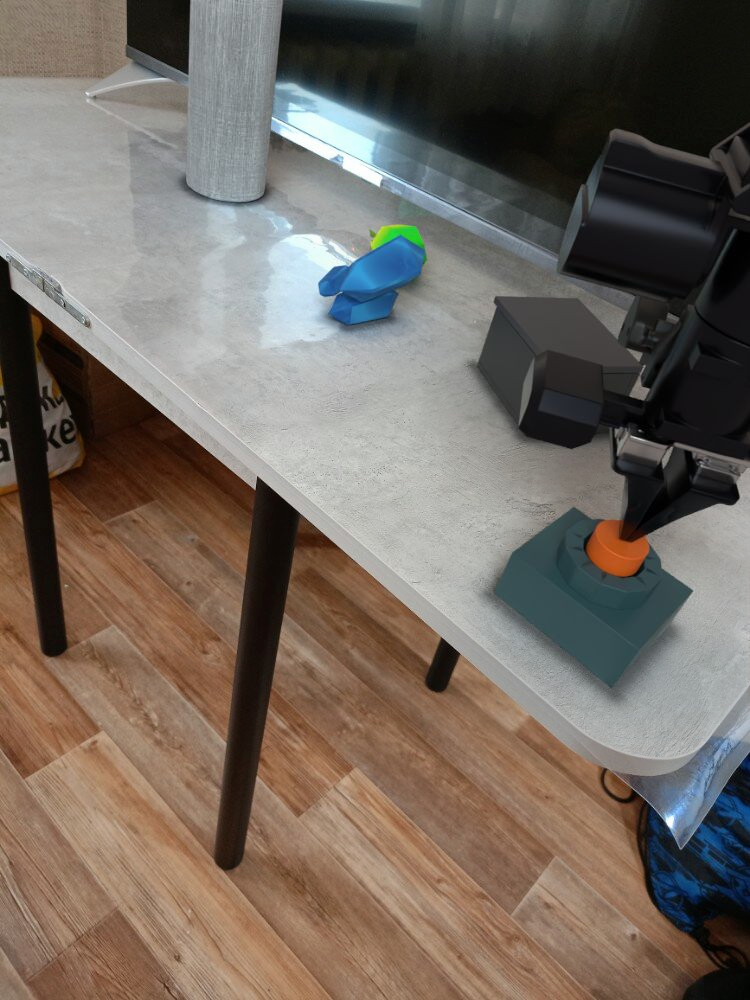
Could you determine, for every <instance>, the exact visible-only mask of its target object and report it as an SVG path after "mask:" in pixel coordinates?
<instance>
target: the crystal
mask: <svg viewBox="0 0 750 1000" xmlns="http://www.w3.org/2000/svg"><path fill="white" fill-rule="evenodd" d="M425 252H426V249H425V250H424V249H423V248H421V247H419V246H418V245H416V244H415V243H413V242H411V241H410V240H408V239H407V238H405V237H404V236H402V235H399V236H397V237H396V238H394V239H392V240H390V241H388V242H387V243H385V244H383V245H381V246H380V247H378V248H376V249H374V250H373V251H372V250H371V251H369V252H367V253H365V254H364V255H362V256H360V257H359V258H357V259H355V260H354V261H353V262H352V263H351V264H350V265H349V266H348V265H347V264H343V265H335V266H333V267H332V268H331V269H330V270H329V271H328V272H327V273H326V274H325V275H324V276H323V277H322V278H321V279H320V280H319V281H318V282H317V285H318V292H319V293H318V294H319V295H320V296H322V297H323V298H328V297H329V298H330V297H335V298H334V300H333V301H332V302H333V303H332V305H331V307H330V310H329V311H328V315H329V316H331V317H333V318H334V319H336V320H338V321H340V322H341V323H342V324H344V325H346V326H350V325H352V326H353V325H356V324H361V323H366V322H370V321H375V320H380V319H385V318H387V317H389V316H390V315H391V312H392V310H393V307H394V305H395V303H396V300H397V299H398V296H399V294H400V293H399V292H398V291H397V290H398V289H400V288H403V287H405V286H407V285H408V284H410V283H411V282H412V281H414V280H415V279H416V278H418V277H419V276H420V275H421V274H422V270H423V267H422V265H423V260H424V255H425ZM423 266H424V265H423Z"/></svg>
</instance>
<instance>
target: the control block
mask: <svg viewBox="0 0 750 1000" xmlns="http://www.w3.org/2000/svg"><path fill="white" fill-rule="evenodd" d="M605 520H606V519H604V518H594V519H593V518H591V517H589V515H586V514H585V513H584V512H583V511H581V510H580V509H578V508H577V507H575V506H572V507H571V508H570V509H568V510H567V511H566V512H565V513H563V514H562V515H561V516H559V517H558V518H557V519H555V520H554V521H553V522H551V523H550V524H548V525H547V526H546V527H544V528H543V529H542V530H540V531H539V532H538V533H536V534H535V535H534V536H532V537H531V538H530V539H528V540H527V541H526V542H524V543H523V544H522V545H520V546H519V547H517V549H515V550H514V551H512V552H511V554H510V557H509V559H508V560H507V562H506V565H505V567H504V569H503V572H502V574H501V576H500V579H499V580H498V582H497V585H496V587H495V590H494V591H493V593H494V595H496V596H497V597H499V599H501V600H502V601H503V602H504V603H506V604H507V605H508V606H509V607H510V608H512V609H513V610H515V611H516V612H517V613H518V614H519V615H521V616H522V617H523V618H524V619H525V620H527V621H528V622H529V623H531V624H532V625H533V626H534V627H535V628H536V629H538V630H539V631H541V632H542V633H543V634H544V635H545V636H547V637H548V638H549V639H550V640H551V641H553V642H554V643H555V644H557V645H558V646H559V647H561V648H562V649H563V650H564V651H565V652H566V653H567V654H569V655H570V656H571V657H573V658H574V659H575V660H576V661H578V663H580V664H582V665H583V666H584V667H585V668H586V669H587V670H589V671H590V672H591V673H592V674H594V675H595V676H596V677H597V678H599V679H600V680H601V681H603V682H604V683H605V684H606V685H607V686H609V687H610V688H611V689H612V688H614V687H615V686H616V685H617V683H618V682H619V681H620V680H621V679H622V678H623V677H624V676H625V675H626V673H627V672H628V671H630V669H631V668H632V667H633V666H634V665H635V664H636V663H637V662H638V661H639V659H640V658H642V656H644V654H645V653H646V652H647V651H648V650H649V649H650V647H652V645H654V643H655V642H656V641H657V640H658V638H659V637H660V636H661V635H662V634H663V633H664V632H665V631H666V630H667V629H668V627H669V626H670V624H671V623H672V622H673V620H674V619H675V617H676V616H677V615H678V614H679V612H680V611H681V609H682V608H683V607H684V605H685V604H686V602H687V601H688V599H690V596H691V595H692V594H693V592H694V590H693V588H691V587H689V586H688V585H686V584H685V583H684V582H683V581H681V580H680V579H678V578H677V577H675V576H674V575H672V574H671V573H670V572H668V571H667V570H665V569H664V568H663V567H662V559H661V558H660V555H658V553H657V552H656V550H654V548H653V547H652V545H651V543H650V542H649V541H648V543H649V553H648V555H647V556H646V558H645V559H644V561H643V563H642V564H641V566H640V567H639V569H638V571H637V572H636V573H635V574H633V575H631V576H627V577H618V576H615V575H611V574H608V573H606V572H604V571H603V570H601V569H600V568H598V567H597V566H596V565H594V564H593V562H592V561H591V560H590V559H589V557H588V555H587V551H586V547H587V543H588V541H589V540H590V538H591V536H592V534H593V532H594V530H595V528H596V527H597V525H598V524H599V523H601V522H602V521H605Z"/></svg>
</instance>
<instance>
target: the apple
mask: <svg viewBox="0 0 750 1000" xmlns="http://www.w3.org/2000/svg"><path fill="white" fill-rule="evenodd" d="M368 229H369V230H368V231H369V236H370V238H373V239H372V240H371V243H370V249H371V251H373V250H374V249H376V248H378V247H380V246H381V245H383V244H385V243H387V242H388V241H390V240H392V239H394V238H396V237H397V236H399V235H402V236H404V237H405V238H407V239H408V240H410V241H411V242H413V243H415V244H416V245H418V246H419V247H421V248H423V249H424V250H425V255H424V260H423V265H422V268H423V267H424V265H425V264H426V263H427V261H428V258H427V253H426V247H425V243H424V241H423V239H422V236H421V235H420V234H421V233H420V232H419V229H418V228H417V226H416V225H415V226H414V225H407V224H398V223H397V224H390V225H382V226H381V227H380V229H379V230H378V232H377V233H376V232H375V231H374V230H373V229H372V228H370V227H368Z"/></svg>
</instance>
